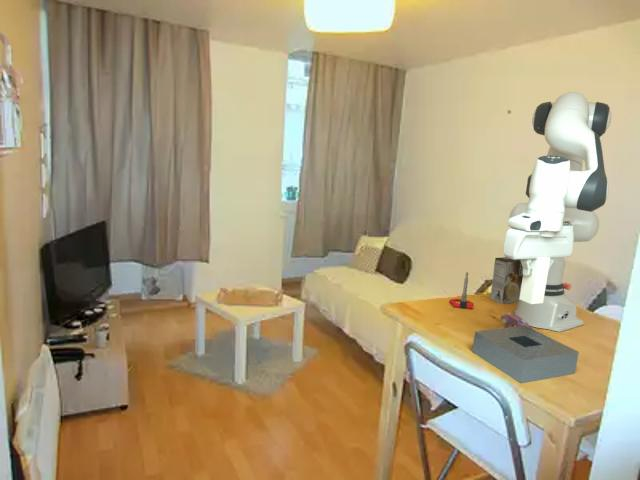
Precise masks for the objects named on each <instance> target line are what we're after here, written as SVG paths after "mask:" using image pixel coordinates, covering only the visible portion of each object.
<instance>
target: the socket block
mask: <svg viewBox="0 0 640 480" xmlns="http://www.w3.org/2000/svg"><path fill="white" fill-rule="evenodd" d="M531 328H532V327H531ZM531 328H529V327H527V326H517V327H516V326H515V327H503V328H502V327H500V328H492V329H485V330H478V331H476V330H475V331H474V336H473V342H472V343H473V344H472V350H471V351H472V353H473V354H475V355H477V357H479V358H482V359H483V360H484V361H486V362H487V363H489V364H491V366H494V367H495V368H496V369H498V370H500V371H501V372H503V373H504V374H506V375H508V376H509V377H511V378H512V379H514V380H515V381H517V382H519V383H520V384H524V383H529V382H536V381H540V380H541V381H542V380H547V379H552V378H559V377H563V375H564V376H568V375H569V374H570V375H574V374H573V373H575V374H576V370H577V369H576V368H577V363H578V358H579V353H580V352H579V351H577V350H576V349H574V348H572V347H570V346H567V345H565V344H564V343H561V342H560V341H557V340H555V339H553V338H551V337H549V336H547V335H546V334H543V333H542V332H539V331H538V330H535V329H533V328H532V329H531Z"/></svg>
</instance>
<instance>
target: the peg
mask: <svg viewBox="0 0 640 480" xmlns="http://www.w3.org/2000/svg"><path fill="white" fill-rule="evenodd" d="M549 263H550V258H537V259H532V260H531V263H529V265H530V268H531V269H533V272H532V275H530V276H526V275H523V279H522V285H521V292H520V298H519V299H520V300H523V301H525V302H527V303H530V304H538V303H543V300H544V294H545V288H546V281H547V275H548V269H549Z"/></svg>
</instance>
